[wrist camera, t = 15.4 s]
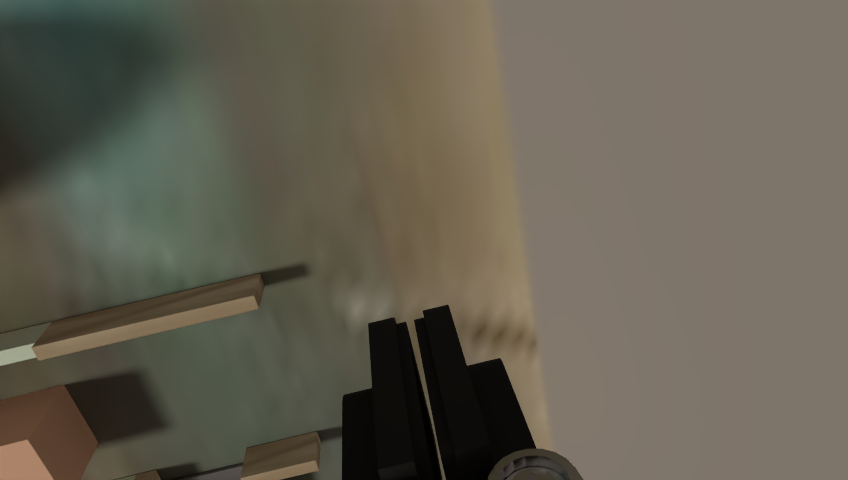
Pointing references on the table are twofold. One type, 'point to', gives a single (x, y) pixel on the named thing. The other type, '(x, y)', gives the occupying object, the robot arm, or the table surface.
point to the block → (44, 437)
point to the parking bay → (177, 310)
